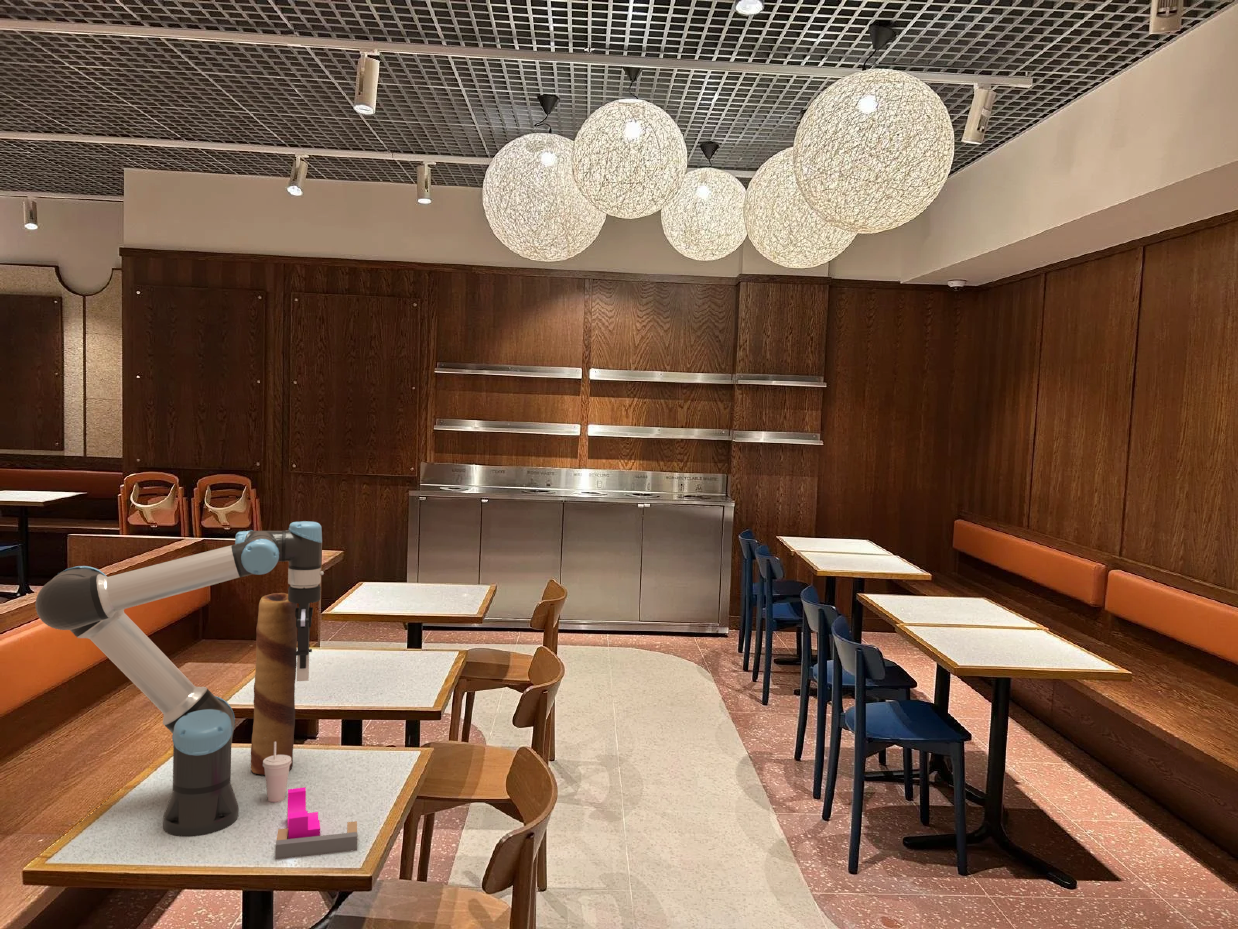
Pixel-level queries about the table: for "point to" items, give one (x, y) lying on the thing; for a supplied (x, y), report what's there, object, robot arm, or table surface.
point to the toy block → (300, 816)
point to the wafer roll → (274, 680)
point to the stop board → (315, 843)
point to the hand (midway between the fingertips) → (302, 680)
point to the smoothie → (276, 775)
